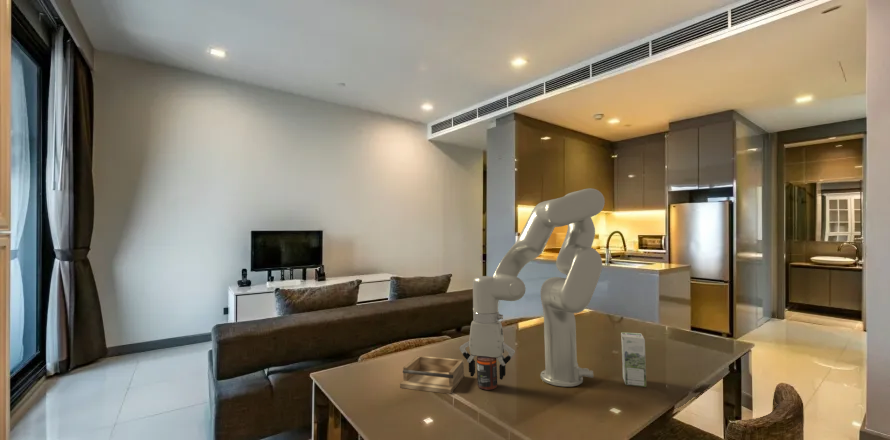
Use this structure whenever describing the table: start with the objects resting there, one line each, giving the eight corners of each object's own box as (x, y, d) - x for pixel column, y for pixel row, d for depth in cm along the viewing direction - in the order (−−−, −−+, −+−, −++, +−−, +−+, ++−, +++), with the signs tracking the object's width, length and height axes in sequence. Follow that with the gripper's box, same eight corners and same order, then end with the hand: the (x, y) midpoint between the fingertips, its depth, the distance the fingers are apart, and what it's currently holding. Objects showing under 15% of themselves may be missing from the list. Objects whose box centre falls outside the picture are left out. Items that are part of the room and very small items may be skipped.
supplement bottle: (497, 383, 111) (496, 345, 112) (497, 391, 105) (496, 351, 106) (477, 382, 112) (476, 345, 112) (477, 390, 106) (476, 351, 106)
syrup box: (643, 380, 111) (641, 332, 112) (647, 387, 106) (644, 337, 106) (622, 378, 113) (620, 331, 114) (625, 385, 108) (623, 336, 108)
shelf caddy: (463, 376, 117) (463, 359, 117) (450, 393, 104) (450, 375, 104) (418, 371, 122) (417, 355, 122) (400, 387, 109) (399, 369, 109)
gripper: (516, 316, 110) (518, 374, 109) (461, 313, 116) (462, 369, 115) (512, 322, 103) (514, 384, 102) (454, 318, 109) (455, 377, 108)
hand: (487, 376), depth 109 cm, fingers open, 8 cm apart
